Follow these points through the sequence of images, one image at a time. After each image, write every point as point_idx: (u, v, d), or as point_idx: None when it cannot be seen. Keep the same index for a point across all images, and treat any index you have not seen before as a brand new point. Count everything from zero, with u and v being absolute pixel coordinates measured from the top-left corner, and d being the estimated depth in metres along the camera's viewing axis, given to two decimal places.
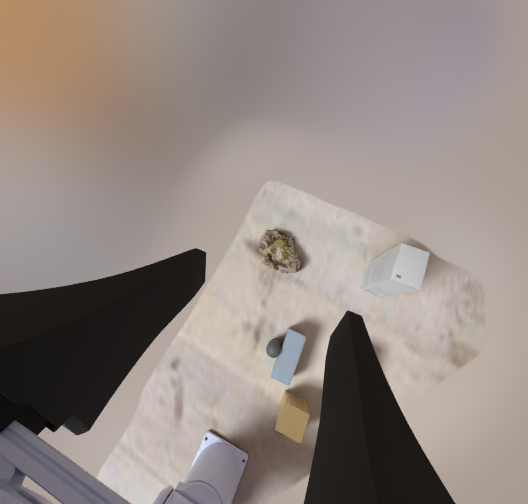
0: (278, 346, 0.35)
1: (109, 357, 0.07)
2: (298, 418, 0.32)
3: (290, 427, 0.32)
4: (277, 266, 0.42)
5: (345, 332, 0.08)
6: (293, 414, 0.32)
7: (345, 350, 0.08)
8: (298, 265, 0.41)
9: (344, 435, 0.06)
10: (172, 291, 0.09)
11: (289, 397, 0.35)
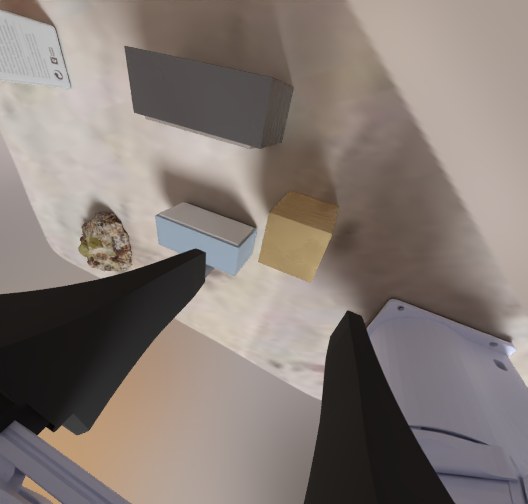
0: None
1: (109, 357, 0.07)
2: (281, 237, 0.14)
3: (301, 254, 0.14)
4: (118, 249, 0.27)
5: (345, 332, 0.08)
6: (276, 247, 0.14)
7: (345, 350, 0.08)
8: (96, 222, 0.25)
9: (344, 435, 0.06)
10: (172, 291, 0.09)
11: None
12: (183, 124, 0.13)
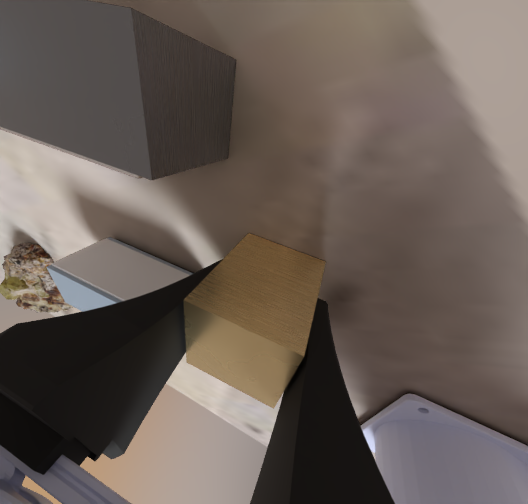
0: None
1: (146, 379, 0.07)
2: (213, 340, 0.07)
3: (251, 370, 0.07)
4: (50, 289, 0.21)
5: None
6: (208, 350, 0.08)
7: None
8: (11, 259, 0.19)
9: (290, 407, 0.06)
10: None
11: None
12: (16, 128, 0.07)
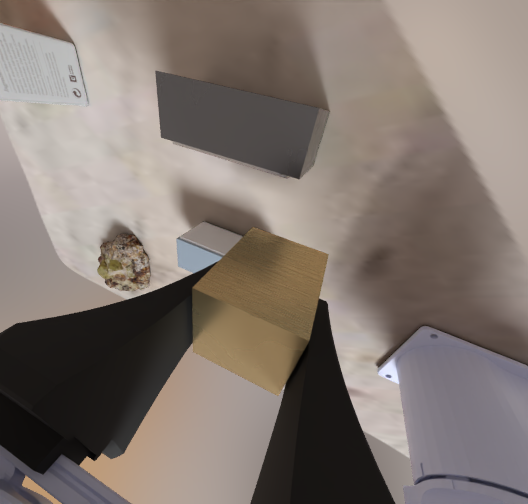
0: None
1: (146, 378, 0.07)
2: (220, 327, 0.07)
3: (256, 357, 0.08)
4: (138, 271, 0.27)
5: None
6: (215, 339, 0.08)
7: None
8: (118, 246, 0.24)
9: (291, 407, 0.06)
10: None
11: None
12: (215, 151, 0.12)
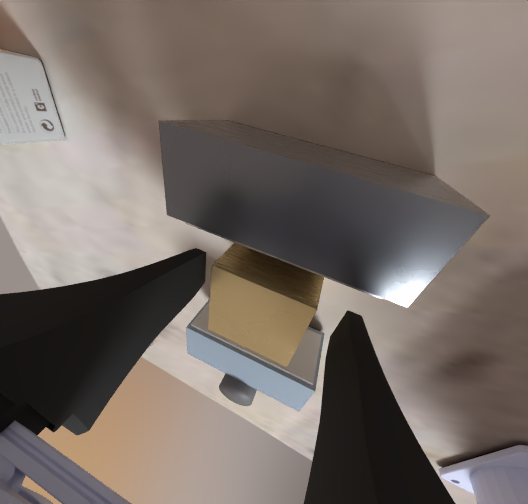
0: (225, 385, 0.14)
1: (109, 357, 0.07)
2: (235, 302, 0.08)
3: (268, 329, 0.08)
4: None
5: (345, 332, 0.08)
6: (230, 314, 0.09)
7: (345, 350, 0.08)
8: None
9: (344, 435, 0.06)
10: (172, 292, 0.09)
11: None
12: (256, 246, 0.07)
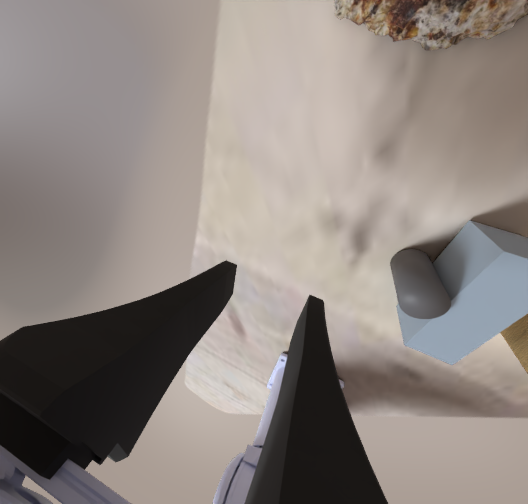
0: (444, 297, 0.11)
1: (151, 381, 0.07)
2: None
3: None
4: (416, 14, 0.09)
5: (304, 314, 0.09)
6: None
7: (301, 330, 0.08)
8: None
9: (285, 404, 0.06)
10: (206, 308, 0.09)
11: None
12: None
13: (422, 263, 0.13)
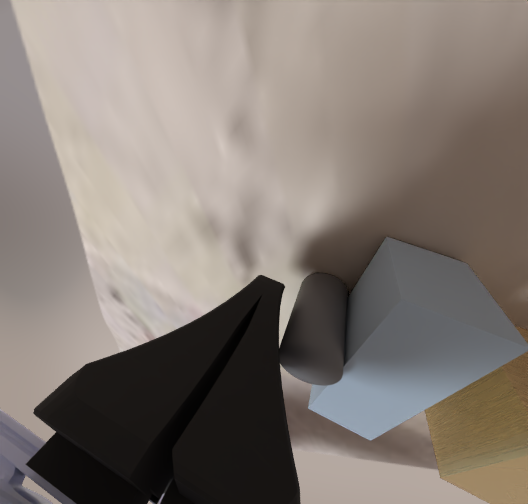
0: (331, 360, 0.07)
1: None
2: None
3: None
4: None
5: None
6: None
7: None
8: None
9: None
10: (247, 326, 0.08)
11: (520, 361, 0.07)
12: None
13: (322, 298, 0.09)
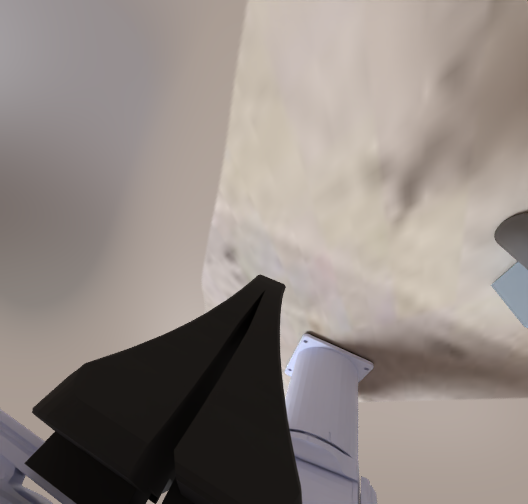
0: None
1: None
2: None
3: None
4: None
5: None
6: None
7: None
8: None
9: None
10: (246, 326, 0.08)
11: None
12: None
13: None
